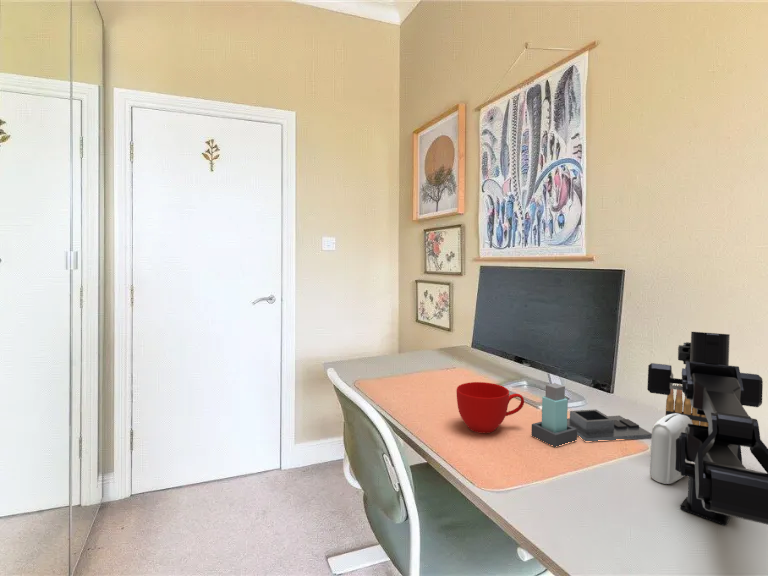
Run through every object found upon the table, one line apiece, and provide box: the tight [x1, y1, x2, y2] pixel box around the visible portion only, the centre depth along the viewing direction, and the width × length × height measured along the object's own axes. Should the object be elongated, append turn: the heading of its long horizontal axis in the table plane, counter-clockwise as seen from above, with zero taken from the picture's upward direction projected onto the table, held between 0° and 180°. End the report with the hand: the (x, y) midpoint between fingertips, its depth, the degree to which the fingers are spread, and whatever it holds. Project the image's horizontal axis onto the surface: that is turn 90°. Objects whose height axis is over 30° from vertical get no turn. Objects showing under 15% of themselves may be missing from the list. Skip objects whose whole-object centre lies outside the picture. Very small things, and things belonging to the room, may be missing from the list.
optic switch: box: [567, 409, 652, 442], centre depth 110 cm, size 12×17×4 cm
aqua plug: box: [541, 382, 569, 433], centre depth 105 cm, size 4×4×13 cm
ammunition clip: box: [664, 384, 708, 427], centre depth 107 cm, size 11×2×12 cm, turn 55°
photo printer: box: [649, 413, 693, 485], centre depth 87 cm, size 10×4×12 cm, turn 123°
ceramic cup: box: [456, 381, 525, 434], centre depth 111 cm, size 13×17×10 cm
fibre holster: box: [530, 421, 578, 448], centre depth 105 cm, size 7×7×3 cm
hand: (696, 380), depth 96 cm, fingers open, 9 cm apart
